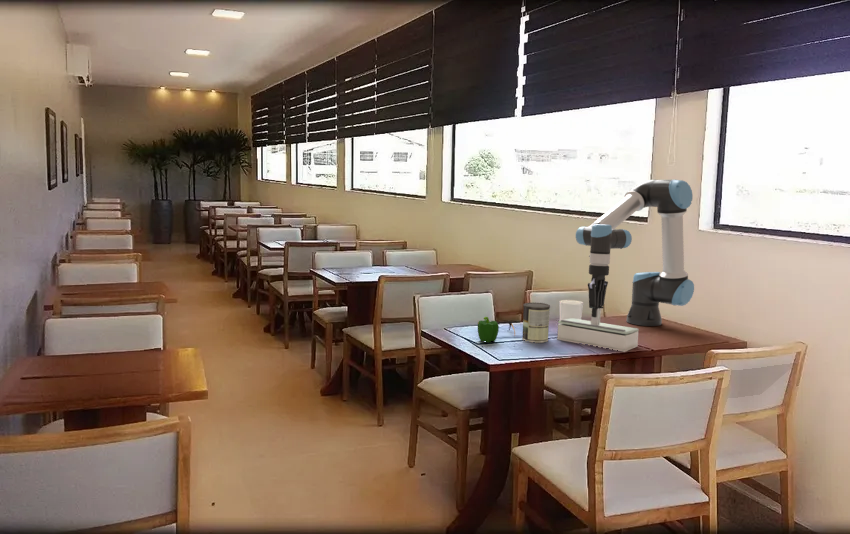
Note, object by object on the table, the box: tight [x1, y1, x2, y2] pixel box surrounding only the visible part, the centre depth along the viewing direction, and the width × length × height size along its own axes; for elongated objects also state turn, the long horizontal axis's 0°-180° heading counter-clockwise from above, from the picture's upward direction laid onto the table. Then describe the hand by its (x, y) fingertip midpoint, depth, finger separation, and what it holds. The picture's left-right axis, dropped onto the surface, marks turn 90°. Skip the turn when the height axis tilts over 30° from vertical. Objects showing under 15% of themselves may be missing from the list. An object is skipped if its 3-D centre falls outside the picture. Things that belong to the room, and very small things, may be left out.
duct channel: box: [556, 323, 639, 353], centre depth 267 cm, size 12×28×6 cm, turn 50°
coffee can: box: [522, 302, 551, 344], centre depth 269 cm, size 10×10×14 cm
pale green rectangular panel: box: [557, 318, 639, 334], centre depth 267 cm, size 12×28×1 cm, turn 50°
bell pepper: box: [477, 316, 500, 343], centre depth 265 cm, size 8×8×10 cm
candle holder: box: [559, 299, 584, 324], centre depth 290 cm, size 10×10×12 cm
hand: (595, 324), depth 265 cm, fingers closed, pressing on pale green rectangular panel
